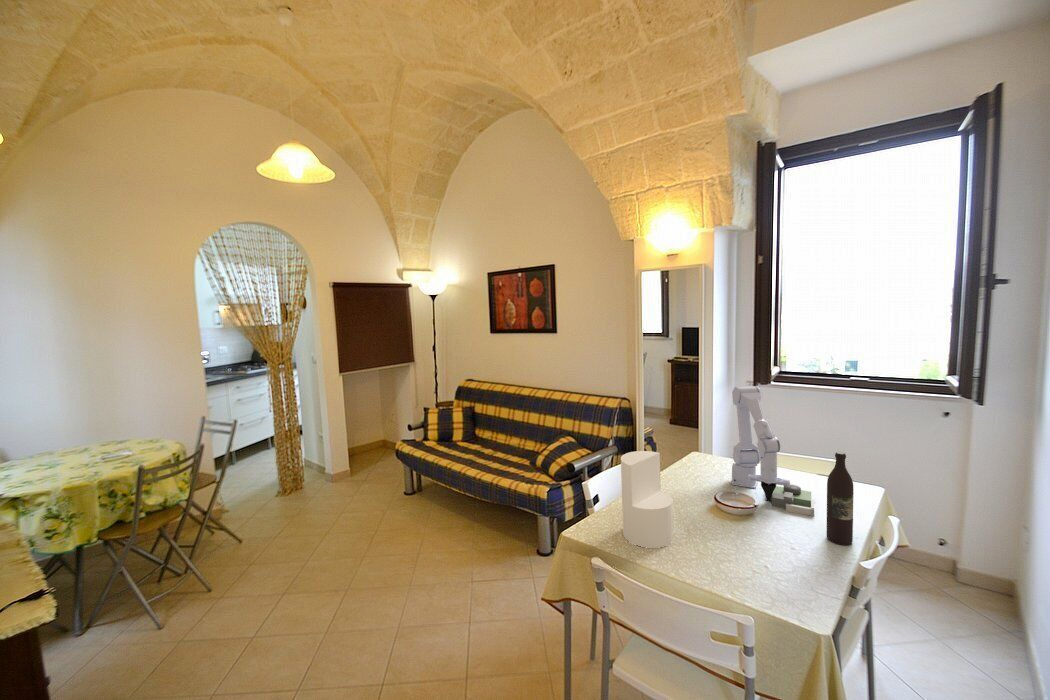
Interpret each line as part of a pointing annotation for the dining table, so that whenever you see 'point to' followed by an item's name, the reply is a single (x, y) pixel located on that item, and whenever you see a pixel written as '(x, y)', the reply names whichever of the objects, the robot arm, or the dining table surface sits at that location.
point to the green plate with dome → (797, 499)
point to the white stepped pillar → (645, 501)
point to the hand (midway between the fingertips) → (768, 500)
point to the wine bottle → (840, 503)
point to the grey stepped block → (782, 499)
